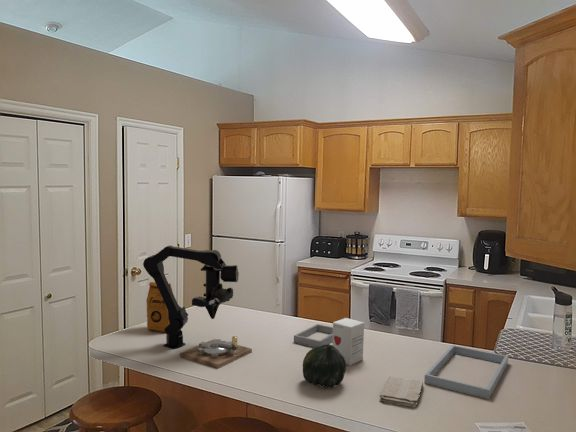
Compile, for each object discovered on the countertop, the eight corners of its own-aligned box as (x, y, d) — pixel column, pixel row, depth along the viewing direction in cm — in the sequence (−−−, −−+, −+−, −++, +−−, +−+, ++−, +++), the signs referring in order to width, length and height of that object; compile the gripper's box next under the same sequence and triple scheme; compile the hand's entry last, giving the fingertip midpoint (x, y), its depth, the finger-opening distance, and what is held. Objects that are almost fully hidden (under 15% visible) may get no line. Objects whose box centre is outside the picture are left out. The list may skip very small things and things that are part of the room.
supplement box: (331, 359, 186) (331, 321, 184) (344, 353, 192) (345, 317, 191) (350, 366, 179) (351, 327, 178) (363, 359, 186) (364, 322, 185)
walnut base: (179, 356, 186) (179, 352, 186) (214, 342, 203) (214, 338, 203) (218, 368, 175) (218, 364, 175) (251, 352, 192) (251, 348, 192)
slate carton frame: (424, 383, 165) (424, 374, 165) (452, 352, 195) (452, 344, 195) (489, 399, 154) (489, 390, 153) (507, 363, 184) (508, 356, 183)
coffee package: (166, 334, 212) (166, 286, 210) (143, 331, 216) (143, 283, 215) (179, 328, 221) (179, 281, 220) (157, 325, 226) (156, 279, 224)
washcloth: (378, 403, 151) (378, 394, 151) (388, 381, 167) (388, 372, 167) (417, 410, 146) (417, 401, 146) (423, 387, 163) (423, 378, 163)
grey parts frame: (293, 342, 204) (293, 335, 204) (317, 330, 221) (317, 323, 221) (320, 348, 197) (320, 341, 197) (342, 335, 214) (342, 329, 213)
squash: (302, 356, 174) (304, 335, 163) (343, 359, 173) (348, 338, 163) (301, 394, 164) (302, 375, 153) (344, 397, 164) (349, 378, 153)
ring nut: (226, 360, 179) (226, 343, 178) (189, 353, 186) (189, 336, 185) (246, 348, 191) (246, 332, 191) (210, 342, 199) (210, 326, 198)
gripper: (211, 288, 183) (211, 328, 184) (242, 280, 199) (242, 316, 200) (190, 284, 189) (190, 322, 191) (222, 276, 205) (222, 312, 206)
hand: (212, 318), depth 197 cm, fingers closed
